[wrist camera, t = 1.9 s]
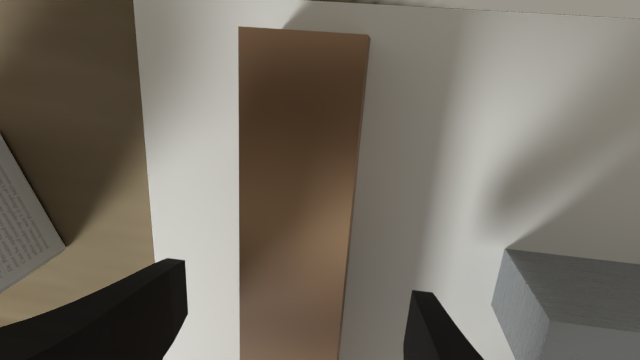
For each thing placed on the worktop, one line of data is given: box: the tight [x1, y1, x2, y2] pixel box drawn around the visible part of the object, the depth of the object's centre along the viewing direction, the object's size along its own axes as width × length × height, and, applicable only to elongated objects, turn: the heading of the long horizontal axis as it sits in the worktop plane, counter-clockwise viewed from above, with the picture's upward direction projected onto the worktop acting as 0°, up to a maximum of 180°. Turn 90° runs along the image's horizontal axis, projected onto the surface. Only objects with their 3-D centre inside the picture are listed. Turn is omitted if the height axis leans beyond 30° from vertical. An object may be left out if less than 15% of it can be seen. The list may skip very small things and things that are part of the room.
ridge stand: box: [133, 0, 640, 360], centre depth 13 cm, size 24×18×5 cm
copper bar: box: [238, 26, 371, 360], centre depth 13 cm, size 16×3×4 cm, turn 177°
